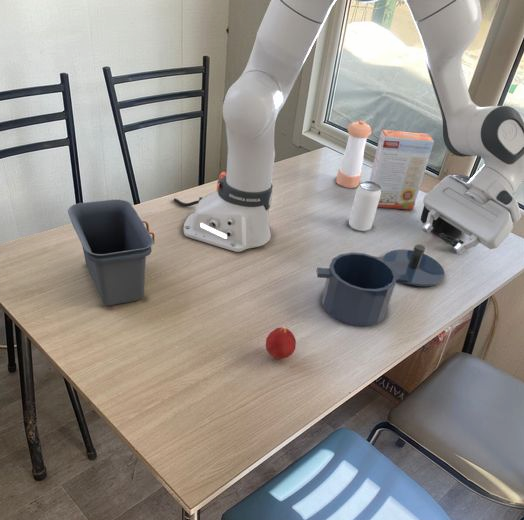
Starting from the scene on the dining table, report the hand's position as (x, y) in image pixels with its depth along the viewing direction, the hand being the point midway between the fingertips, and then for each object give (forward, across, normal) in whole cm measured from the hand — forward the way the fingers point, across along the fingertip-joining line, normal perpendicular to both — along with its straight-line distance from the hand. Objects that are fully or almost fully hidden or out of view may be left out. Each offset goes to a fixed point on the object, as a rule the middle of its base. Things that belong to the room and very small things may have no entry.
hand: (439, 241), depth 116 cm
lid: (+5, -9, +16) cm, 19 cm away
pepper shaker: (-6, -55, +28) cm, 62 cm away
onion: (+41, +2, -19) cm, 45 cm away
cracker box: (-8, -39, +30) cm, 50 cm away
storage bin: (+54, -34, -32) cm, 71 cm away
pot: (+23, -4, -1) cm, 23 cm away
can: (+4, -32, +17) cm, 37 cm away
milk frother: (-10, -17, +32) cm, 38 cm away
